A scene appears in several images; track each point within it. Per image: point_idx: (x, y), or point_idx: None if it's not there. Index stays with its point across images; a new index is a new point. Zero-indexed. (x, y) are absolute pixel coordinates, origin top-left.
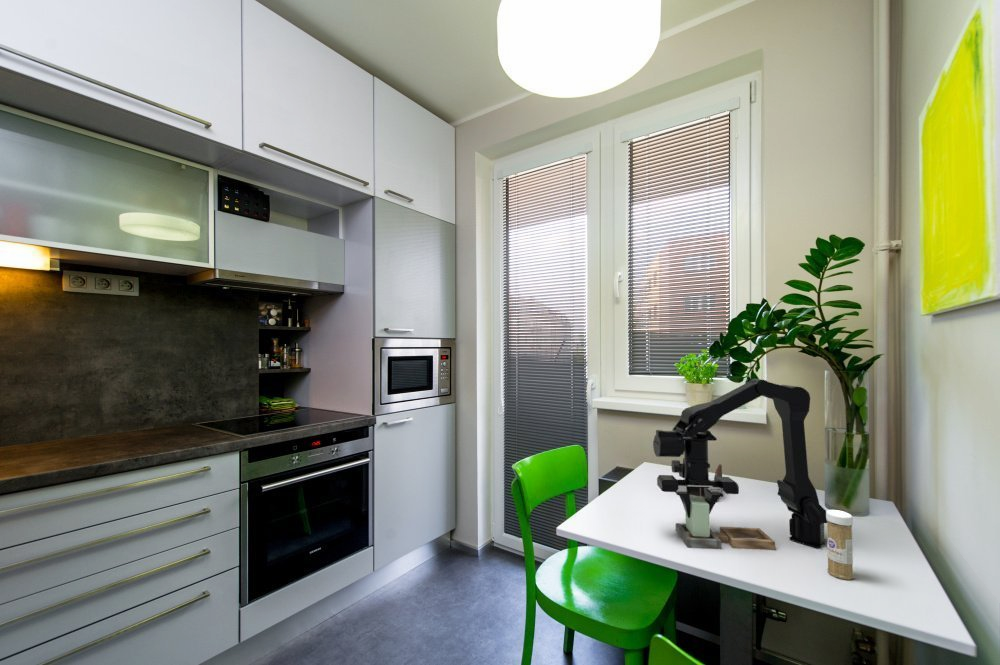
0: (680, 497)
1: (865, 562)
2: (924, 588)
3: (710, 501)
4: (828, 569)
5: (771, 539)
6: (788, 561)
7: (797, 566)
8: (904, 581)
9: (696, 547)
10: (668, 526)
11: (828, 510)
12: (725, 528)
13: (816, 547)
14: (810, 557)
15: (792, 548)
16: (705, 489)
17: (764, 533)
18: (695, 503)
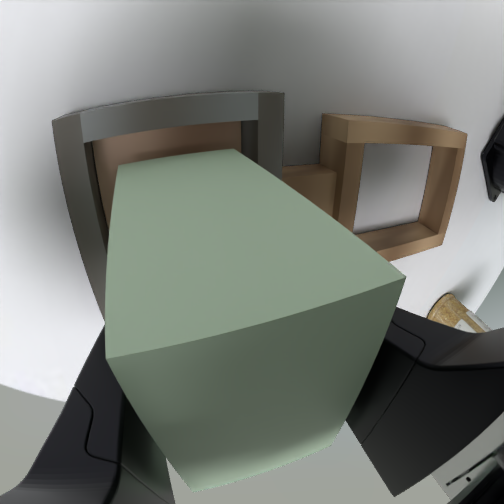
0: (52, 457)
1: (496, 240)
2: (481, 298)
3: (362, 445)
4: (433, 316)
5: (444, 230)
6: (405, 290)
7: (403, 308)
8: (482, 288)
9: None
10: (33, 57)
11: None
12: (365, 142)
13: (490, 199)
14: (454, 249)
15: (458, 207)
16: (486, 420)
17: (457, 181)
18: (222, 479)
